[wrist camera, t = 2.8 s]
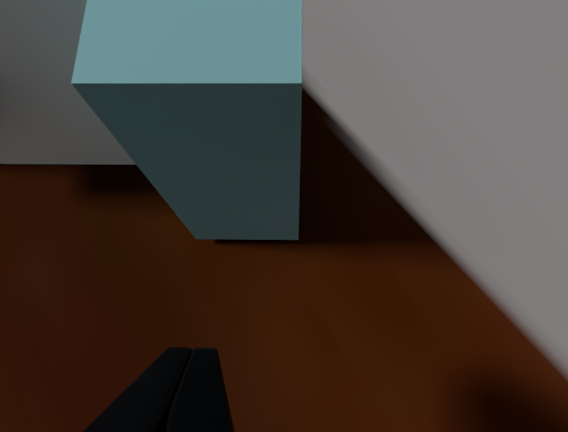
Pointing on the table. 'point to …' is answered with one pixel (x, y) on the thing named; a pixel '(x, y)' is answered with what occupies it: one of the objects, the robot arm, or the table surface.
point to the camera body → (47, 89)
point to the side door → (203, 105)
